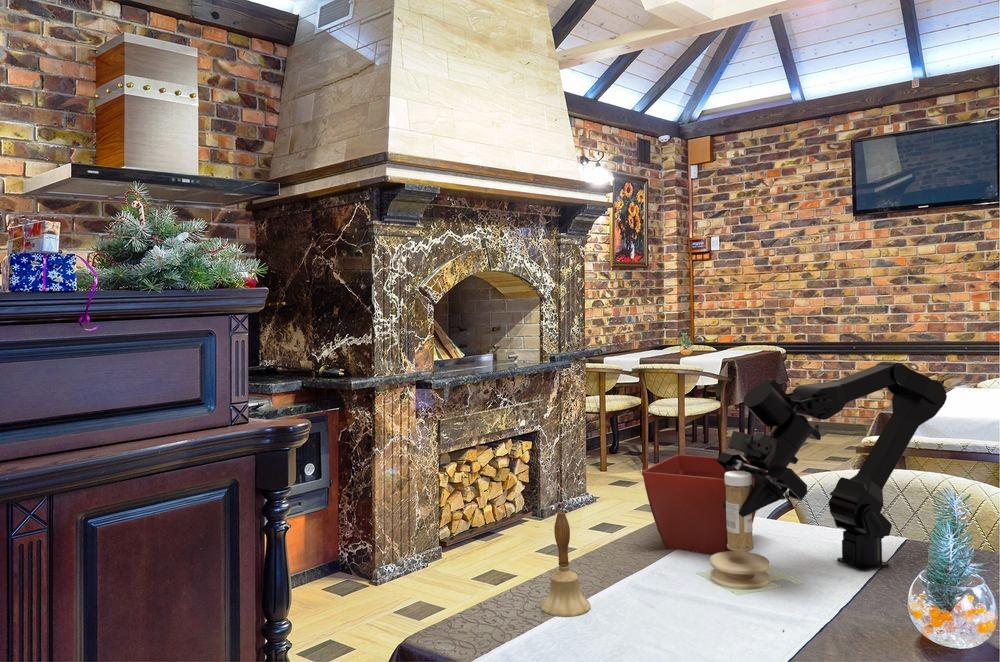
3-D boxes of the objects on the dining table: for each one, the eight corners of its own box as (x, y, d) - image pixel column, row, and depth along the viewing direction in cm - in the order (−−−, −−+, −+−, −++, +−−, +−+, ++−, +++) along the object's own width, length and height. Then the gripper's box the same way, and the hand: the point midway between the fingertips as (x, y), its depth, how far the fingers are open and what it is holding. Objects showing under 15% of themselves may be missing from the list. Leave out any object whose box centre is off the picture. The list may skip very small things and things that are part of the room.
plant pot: (642, 553, 157) (640, 470, 156) (678, 529, 173) (676, 453, 172) (737, 569, 146) (735, 479, 145) (766, 542, 162) (765, 461, 161)
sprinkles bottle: (757, 551, 136) (755, 474, 135) (732, 553, 135) (730, 476, 135) (747, 543, 140) (745, 469, 140) (722, 545, 140) (720, 470, 139)
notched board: (759, 567, 147) (759, 561, 147) (805, 587, 136) (805, 582, 136) (695, 578, 142) (695, 572, 142) (738, 601, 131) (738, 595, 131)
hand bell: (557, 621, 125) (554, 521, 124) (531, 604, 132) (528, 510, 132) (600, 610, 129) (597, 513, 128) (573, 594, 136) (570, 503, 136)
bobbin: (744, 566, 145) (744, 548, 144) (782, 583, 135) (782, 564, 135) (699, 574, 141) (698, 555, 141) (734, 593, 132) (733, 573, 132)
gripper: (723, 408, 147) (674, 473, 144) (790, 421, 129) (736, 495, 126) (760, 445, 150) (712, 510, 147) (830, 463, 132) (778, 537, 129)
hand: (732, 512), depth 137 cm, fingers closed on sprinkles bottle, 4 cm apart
